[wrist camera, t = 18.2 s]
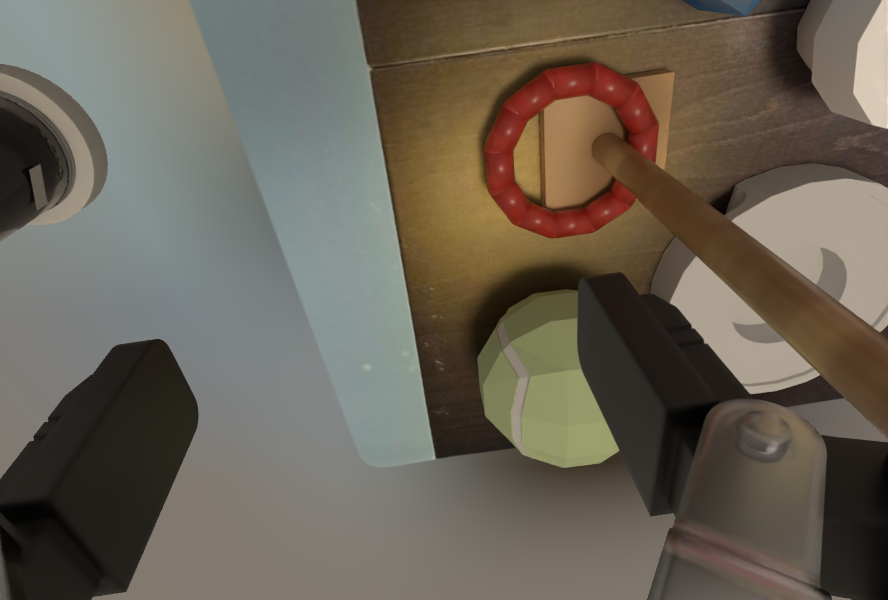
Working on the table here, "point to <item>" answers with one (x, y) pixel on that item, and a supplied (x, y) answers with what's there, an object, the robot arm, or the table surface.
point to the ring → (532, 101)
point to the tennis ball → (543, 384)
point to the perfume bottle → (725, 6)
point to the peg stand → (711, 239)
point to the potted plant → (848, 56)
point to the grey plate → (804, 248)
